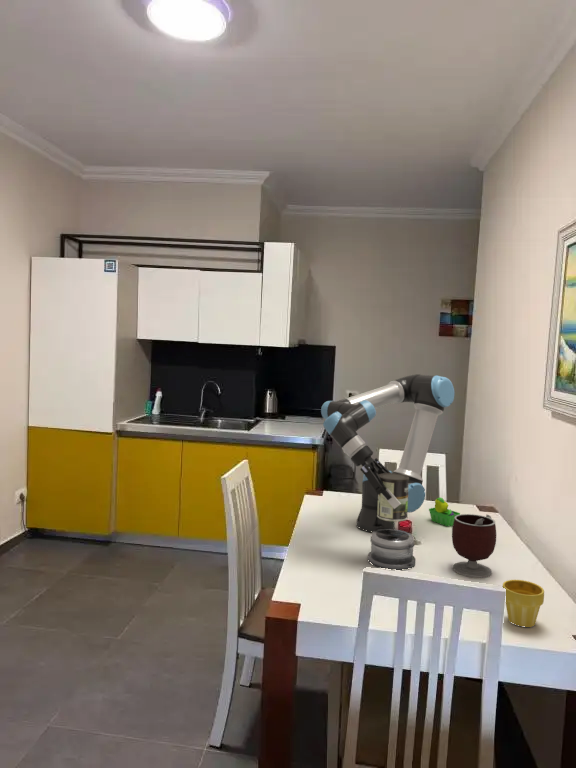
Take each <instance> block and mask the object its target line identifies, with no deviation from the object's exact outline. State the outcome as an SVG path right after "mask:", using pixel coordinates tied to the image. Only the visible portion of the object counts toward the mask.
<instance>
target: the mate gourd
mask: <svg viewBox="0 0 576 768" xmlns="http://www.w3.org/2000/svg"><path fill="white" fill-rule="evenodd" d="M491 518H492V517H491ZM491 518H489V517H486V515H479V514H473V513H472V514H471V513H462V514H461V513H460V515H457V516H455V518H454V523H453V526H451V527H452V528H451V539H452V540H451V541H452V546H453V548H454V550H455V552H456V554H457V555H459V556H460V557H462V558H463V559H466V560H467V561H459V562H455V563H453V564H452V570H453V571H454V572H455V573H457V574H458V575H461V576H464V577H469V578H474V579H483V578H484V579H485V578H488V577H490V576H492V569H491V568H490V567H489V566H486V565H484V564H482V563H481V564H480V563H478V561H483V560H487V559H489V557H491V555H493V553H494V551H495V548H496V545H497V525H496V521H495V520H494V518H492V519H491Z"/></svg>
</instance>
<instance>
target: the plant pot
mask: <svg viewBox="0 0 576 768" xmlns="http://www.w3.org/2000/svg"><path fill="white" fill-rule="evenodd" d="M502 587H503V588H505V589H506V602H505V607H506V614H507V619H509V620H508V622H509V621H510V622H512V623H514V624H516V625H519V626H525V627H530V628H533V627H534V626H536V622H537V618H538V615H539V612H540V608H541V606H542V605H543V604H544V601H545V590H544V588H543V586H540V585H539V584H537V583H535V582H532V581H529V580H524V579H507V580H506V581H504V582H503V583H502ZM510 622H509V623H510ZM532 626H533V627H532Z"/></svg>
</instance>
